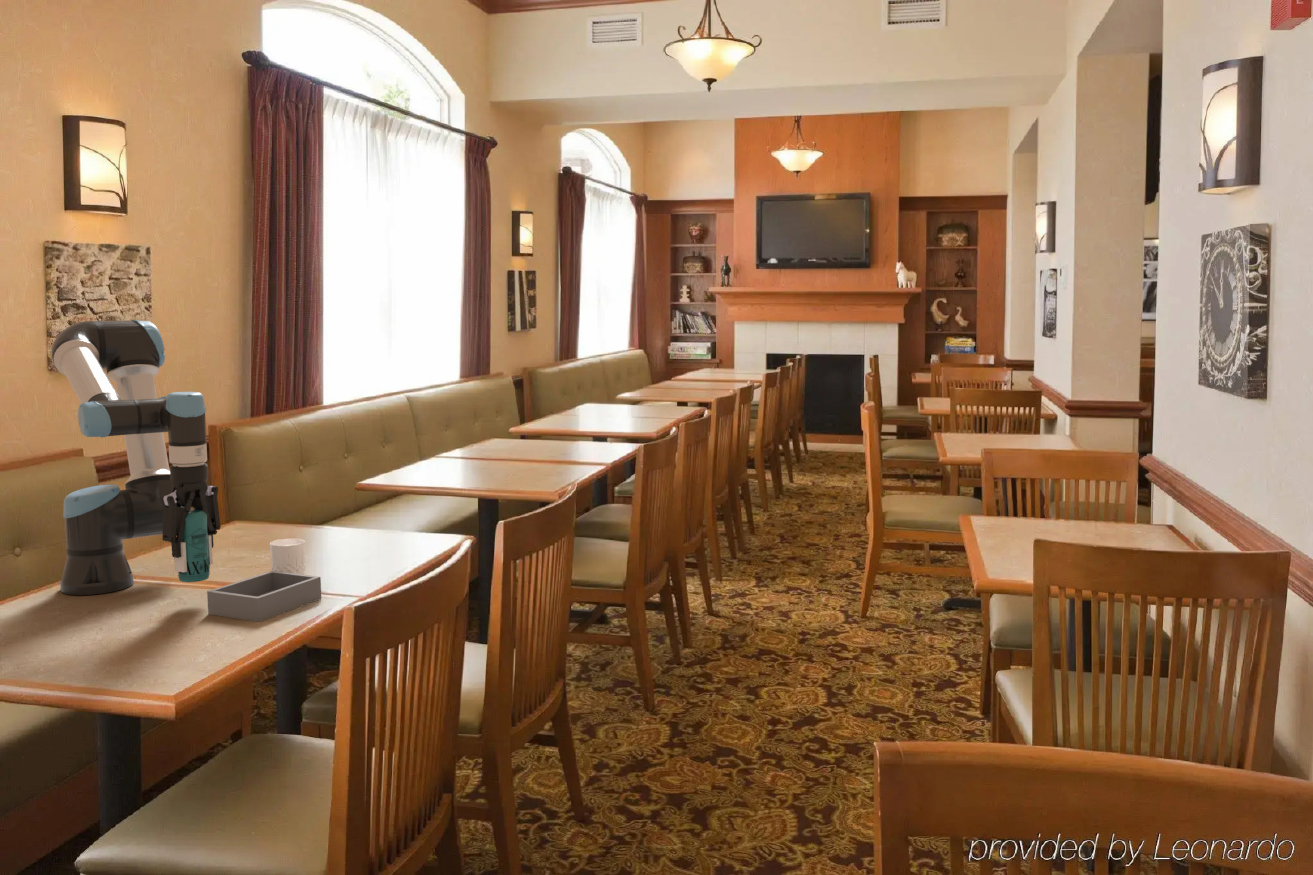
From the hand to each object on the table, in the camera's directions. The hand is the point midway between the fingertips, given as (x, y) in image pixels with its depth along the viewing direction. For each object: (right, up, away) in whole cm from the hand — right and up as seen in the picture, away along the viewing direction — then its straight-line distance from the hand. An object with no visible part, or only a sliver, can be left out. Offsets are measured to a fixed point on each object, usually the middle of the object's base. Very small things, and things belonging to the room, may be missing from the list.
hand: (194, 567), depth 233 cm
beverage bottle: (0, -4, +1) cm, 4 cm away
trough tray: (+16, -8, -1) cm, 18 cm away
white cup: (+15, -6, +18) cm, 24 cm away
